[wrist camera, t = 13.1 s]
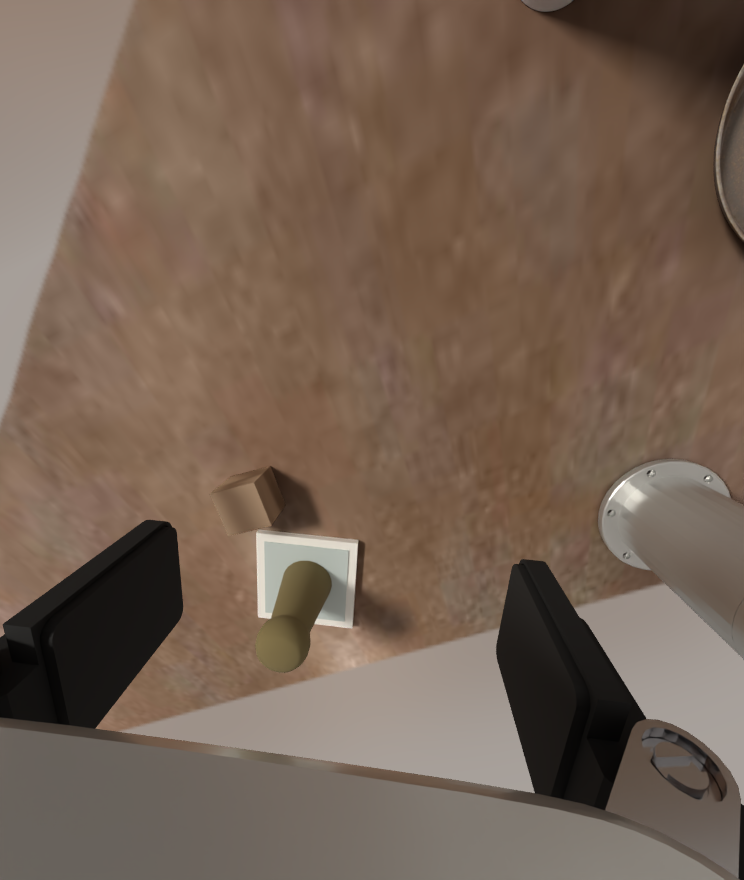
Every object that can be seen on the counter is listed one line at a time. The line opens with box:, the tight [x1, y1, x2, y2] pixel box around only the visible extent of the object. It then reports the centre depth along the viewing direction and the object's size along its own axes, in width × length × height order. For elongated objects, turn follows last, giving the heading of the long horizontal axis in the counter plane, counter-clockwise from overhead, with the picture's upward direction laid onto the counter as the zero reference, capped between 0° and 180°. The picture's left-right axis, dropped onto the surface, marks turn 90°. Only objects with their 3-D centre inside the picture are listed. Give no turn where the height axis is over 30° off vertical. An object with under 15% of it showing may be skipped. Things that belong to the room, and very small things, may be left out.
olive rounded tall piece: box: [255, 561, 332, 673], centre depth 40 cm, size 6×6×11 cm
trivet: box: [256, 530, 359, 628], centre depth 46 cm, size 12×12×1 cm
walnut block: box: [210, 466, 285, 536], centre depth 41 cm, size 5×5×5 cm
